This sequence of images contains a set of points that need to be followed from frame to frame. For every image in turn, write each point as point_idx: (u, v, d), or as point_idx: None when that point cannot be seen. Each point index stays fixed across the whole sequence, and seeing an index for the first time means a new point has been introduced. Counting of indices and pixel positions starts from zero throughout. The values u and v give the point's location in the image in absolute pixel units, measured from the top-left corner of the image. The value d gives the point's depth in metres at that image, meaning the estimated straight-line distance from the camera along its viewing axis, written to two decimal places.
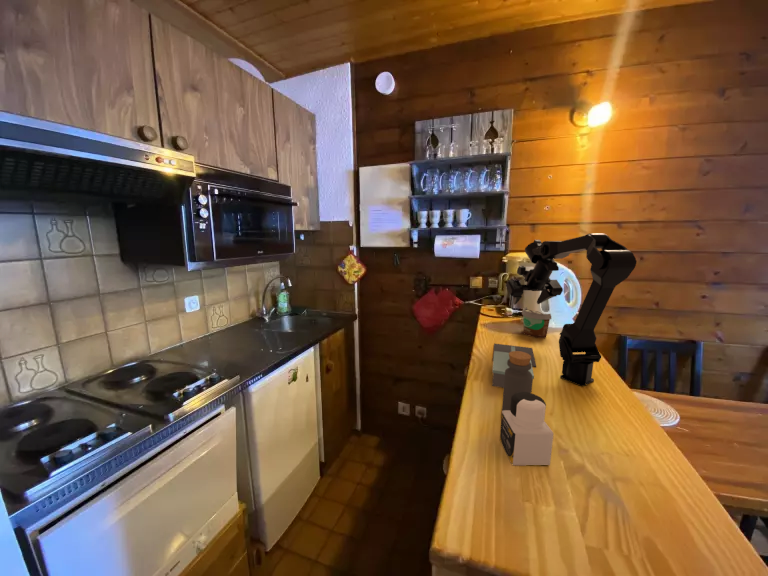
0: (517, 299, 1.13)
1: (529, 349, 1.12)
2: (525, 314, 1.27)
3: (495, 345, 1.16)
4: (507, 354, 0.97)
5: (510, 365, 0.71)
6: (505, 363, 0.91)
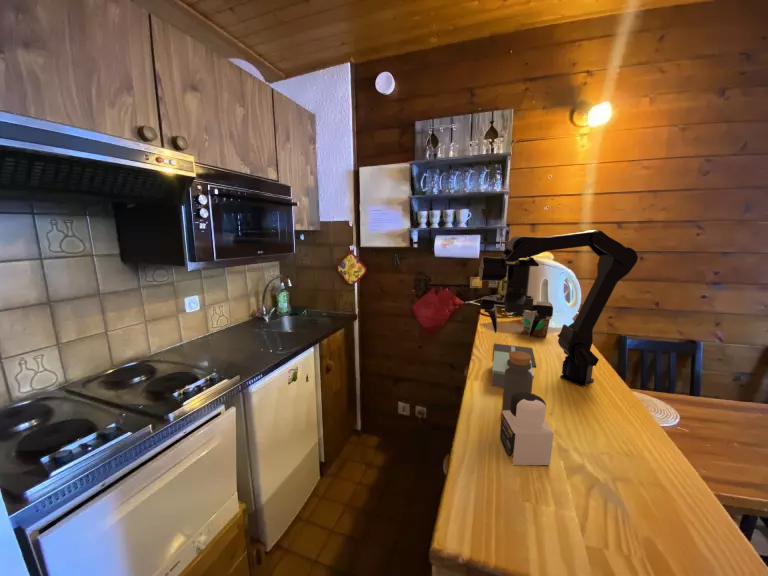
0: None
1: (529, 349, 1.12)
2: (525, 314, 1.27)
3: (495, 345, 1.16)
4: (507, 354, 0.97)
5: (510, 365, 0.71)
6: (505, 363, 0.91)
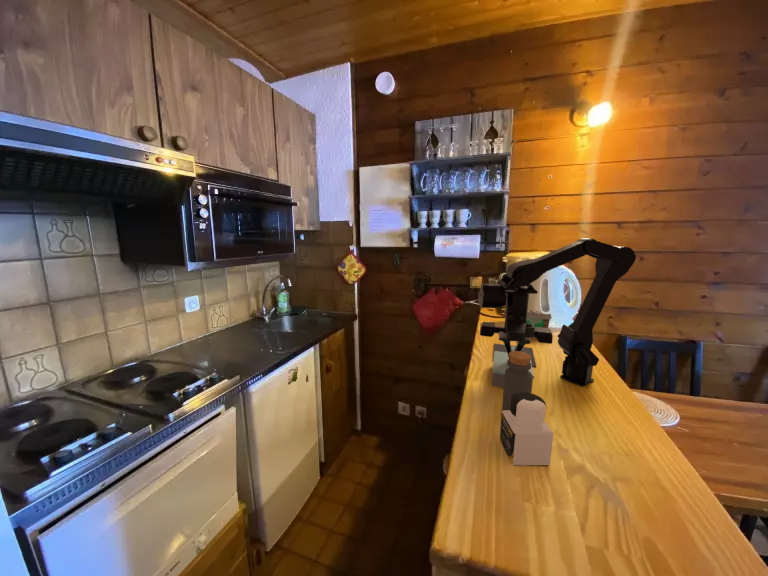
0: None
1: (529, 349, 1.12)
2: None
3: (495, 345, 1.16)
4: (507, 354, 0.97)
5: (510, 365, 0.71)
6: (505, 363, 0.91)
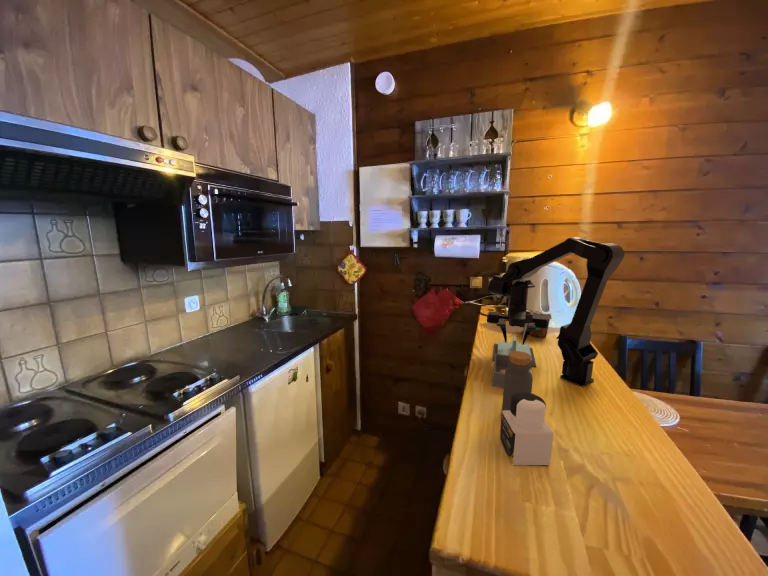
0: None
1: None
2: None
3: (495, 345, 1.16)
4: (509, 343, 1.13)
5: (510, 365, 0.71)
6: (508, 350, 1.07)
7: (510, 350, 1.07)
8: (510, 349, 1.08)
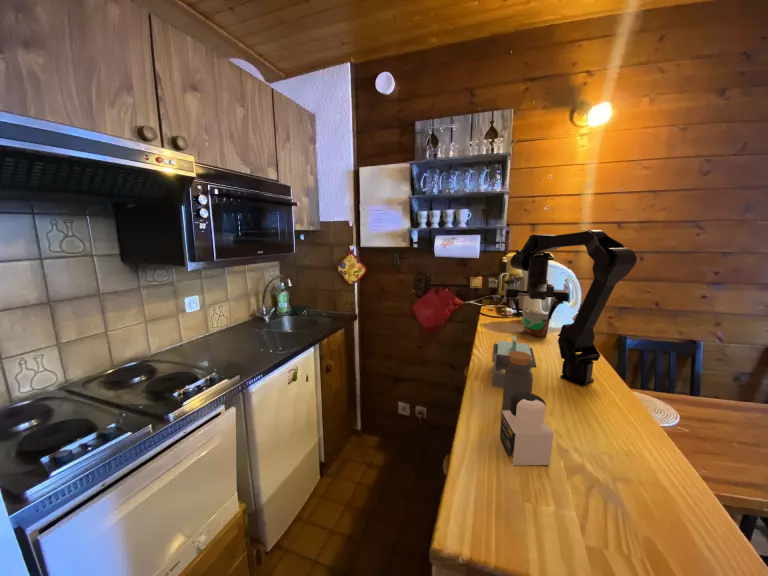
0: None
1: None
2: (525, 314, 1.27)
3: (495, 345, 1.16)
4: (509, 343, 1.13)
5: (510, 365, 0.71)
6: (508, 350, 1.07)
7: (510, 350, 1.07)
8: (510, 349, 1.08)
